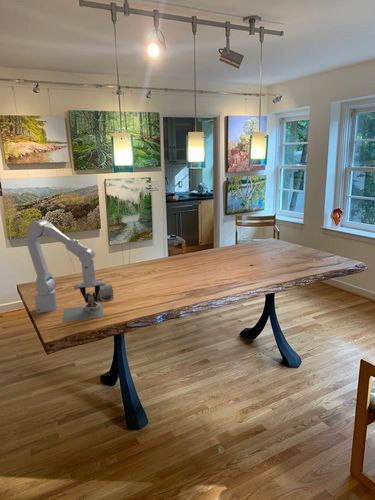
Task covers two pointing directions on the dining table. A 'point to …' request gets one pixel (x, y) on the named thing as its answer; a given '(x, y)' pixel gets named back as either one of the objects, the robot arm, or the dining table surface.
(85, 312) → the hub board
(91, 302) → the knob
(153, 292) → the dining table surface
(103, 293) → the ceramic mug
